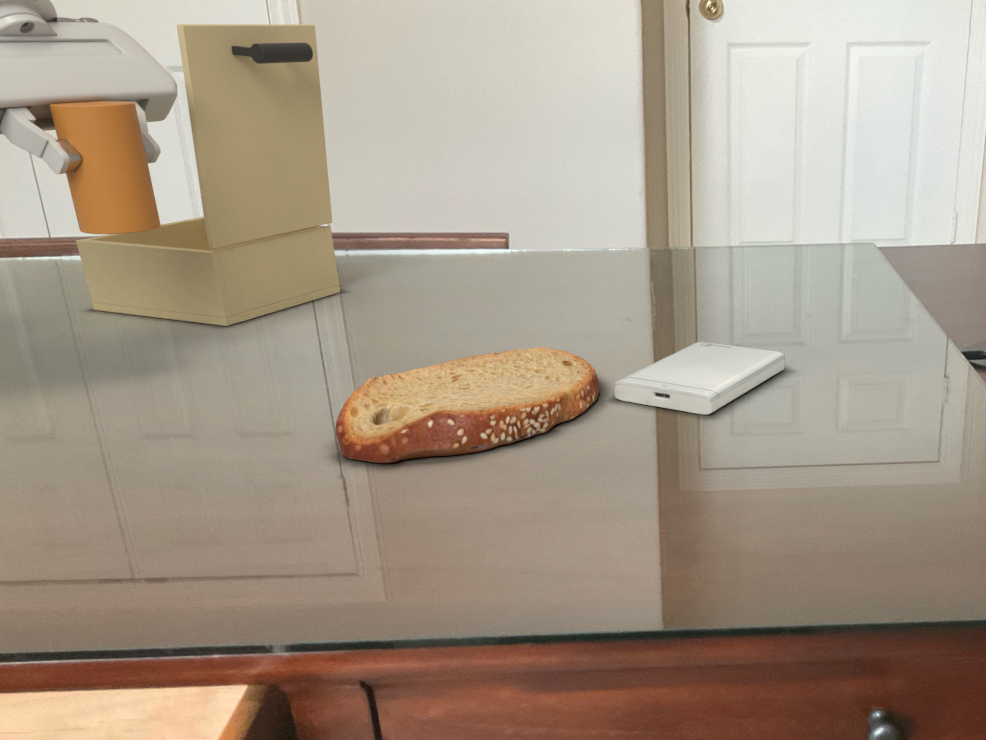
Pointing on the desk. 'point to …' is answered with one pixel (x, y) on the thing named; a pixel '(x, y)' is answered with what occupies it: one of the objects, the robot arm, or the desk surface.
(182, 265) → the breadbox
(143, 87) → the robot arm
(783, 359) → the hard drive
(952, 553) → the desk surface
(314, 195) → the lid
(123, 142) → the orange cylinder
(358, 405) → the slice of bread
